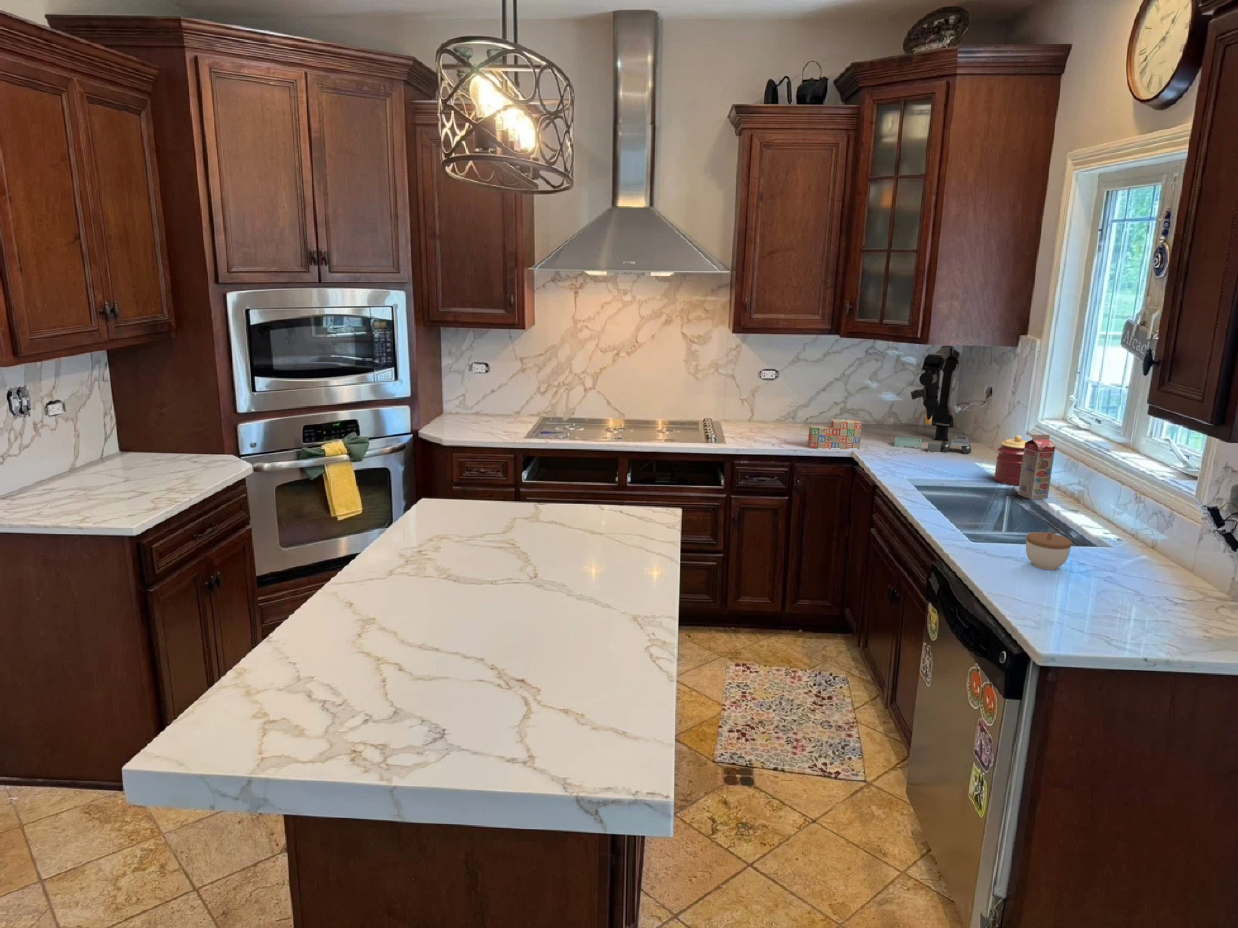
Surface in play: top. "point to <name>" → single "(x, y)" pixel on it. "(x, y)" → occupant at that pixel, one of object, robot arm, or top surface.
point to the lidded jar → (1047, 550)
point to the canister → (1010, 461)
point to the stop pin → (928, 420)
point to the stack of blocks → (836, 434)
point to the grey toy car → (957, 441)
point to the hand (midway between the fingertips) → (928, 419)
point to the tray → (907, 442)
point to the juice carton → (1036, 467)
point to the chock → (934, 447)
